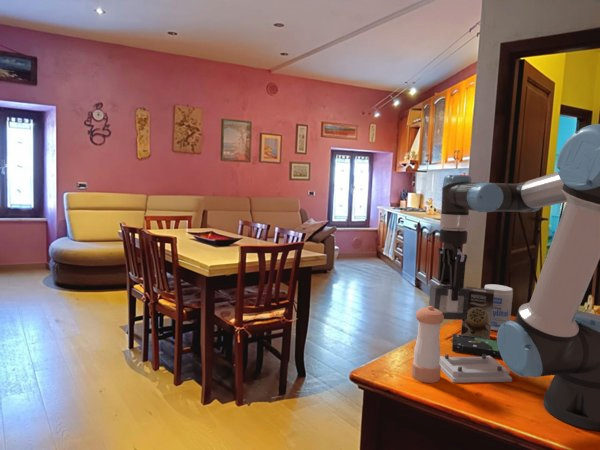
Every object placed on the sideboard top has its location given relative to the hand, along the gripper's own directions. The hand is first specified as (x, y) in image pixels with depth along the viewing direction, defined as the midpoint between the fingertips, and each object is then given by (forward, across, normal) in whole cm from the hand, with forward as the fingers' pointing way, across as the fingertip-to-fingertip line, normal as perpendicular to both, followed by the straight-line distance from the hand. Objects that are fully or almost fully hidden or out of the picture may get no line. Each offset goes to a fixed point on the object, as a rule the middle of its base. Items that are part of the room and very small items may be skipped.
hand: (448, 308), depth 132 cm
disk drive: (+15, +6, -13) cm, 21 cm away
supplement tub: (+14, +26, -30) cm, 42 cm away
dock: (+15, -10, -3) cm, 18 cm away
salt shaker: (+15, -13, +11) cm, 23 cm away
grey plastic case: (+3, 0, 0) cm, 3 cm away
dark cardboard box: (+15, +17, -18) cm, 28 cm away
